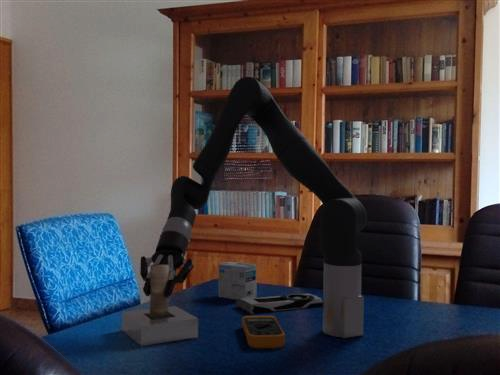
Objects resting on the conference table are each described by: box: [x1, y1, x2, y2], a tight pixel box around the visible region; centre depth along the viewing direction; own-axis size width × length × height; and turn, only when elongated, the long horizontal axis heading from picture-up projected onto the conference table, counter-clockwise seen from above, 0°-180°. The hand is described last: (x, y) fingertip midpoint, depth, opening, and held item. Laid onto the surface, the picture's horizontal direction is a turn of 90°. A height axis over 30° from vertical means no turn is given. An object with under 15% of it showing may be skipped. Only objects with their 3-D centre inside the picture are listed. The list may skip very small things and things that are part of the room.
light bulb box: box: [217, 261, 258, 300], centre depth 173 cm, size 11×7×11 cm, turn 58°
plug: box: [149, 264, 170, 317], centre depth 133 cm, size 4×4×12 cm
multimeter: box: [241, 315, 286, 349], centre depth 131 cm, size 9×18×3 cm, turn 6°
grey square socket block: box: [121, 305, 199, 347], centre depth 133 cm, size 14×14×4 cm
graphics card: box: [235, 293, 323, 316], centre depth 161 cm, size 10×3×25 cm
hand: (156, 294), depth 131 cm, fingers closed on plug, 4 cm apart
